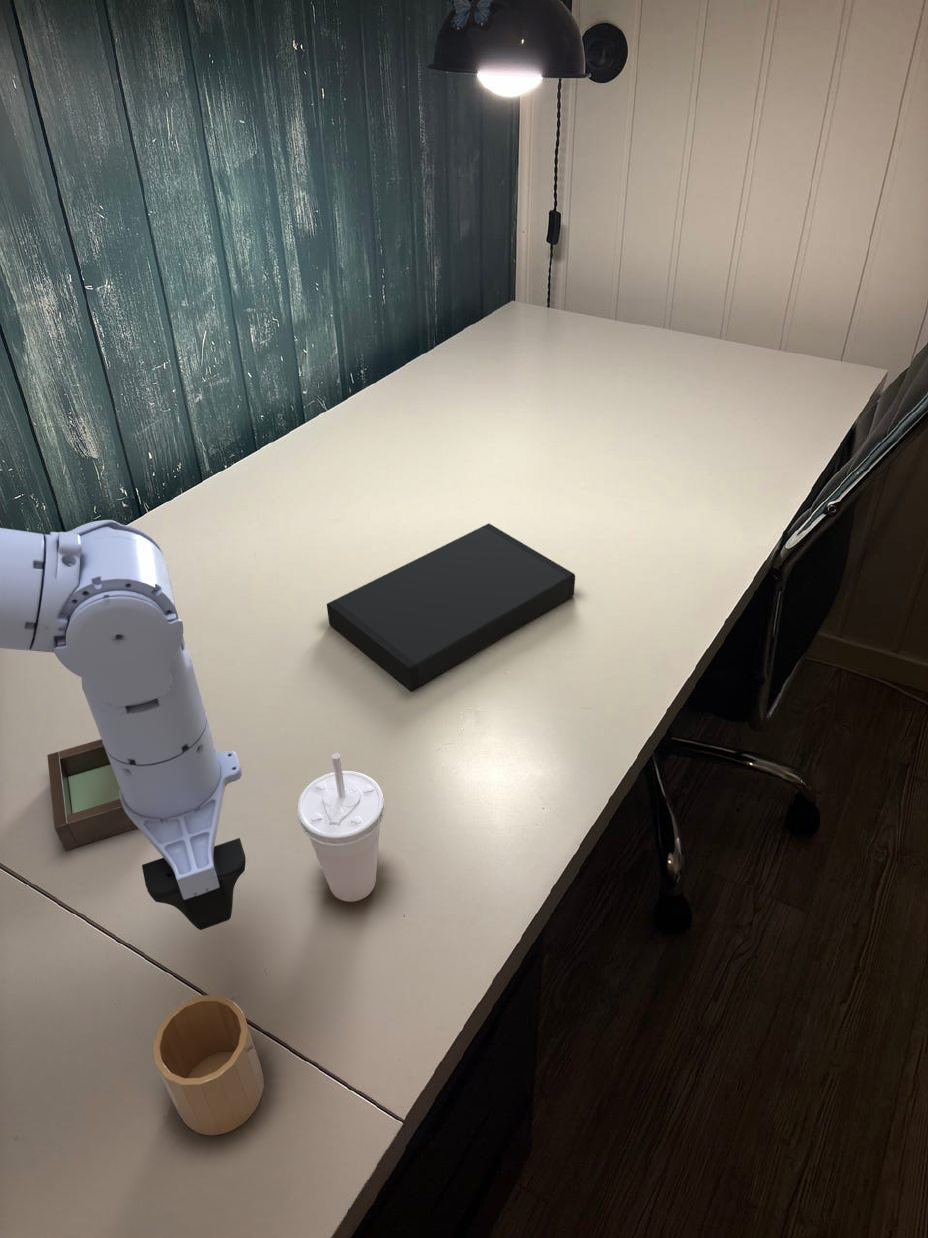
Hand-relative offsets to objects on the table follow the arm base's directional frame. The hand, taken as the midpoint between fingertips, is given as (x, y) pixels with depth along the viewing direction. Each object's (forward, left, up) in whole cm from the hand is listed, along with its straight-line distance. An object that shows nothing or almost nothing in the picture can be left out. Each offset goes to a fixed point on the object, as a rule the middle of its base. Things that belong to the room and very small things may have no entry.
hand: (202, 874), depth 60 cm
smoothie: (+10, +3, -12) cm, 16 cm away
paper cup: (-3, -9, -11) cm, 14 cm away
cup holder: (-6, +20, -11) cm, 24 cm away
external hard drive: (+31, +32, -12) cm, 47 cm away
